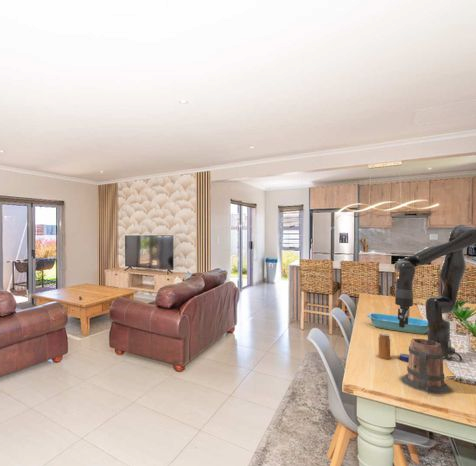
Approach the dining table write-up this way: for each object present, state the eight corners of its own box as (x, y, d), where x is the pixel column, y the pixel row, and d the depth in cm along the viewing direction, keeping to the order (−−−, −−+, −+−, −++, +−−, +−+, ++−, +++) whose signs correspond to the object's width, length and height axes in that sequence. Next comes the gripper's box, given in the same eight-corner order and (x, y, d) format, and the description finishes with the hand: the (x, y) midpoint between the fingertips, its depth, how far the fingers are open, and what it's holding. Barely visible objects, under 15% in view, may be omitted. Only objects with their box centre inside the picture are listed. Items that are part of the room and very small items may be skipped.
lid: (409, 362, 178) (409, 358, 178) (397, 358, 184) (397, 354, 184) (416, 361, 180) (416, 357, 180) (404, 357, 185) (404, 353, 185)
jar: (391, 357, 185) (391, 334, 185) (387, 360, 182) (388, 336, 182) (380, 354, 189) (380, 332, 189) (376, 356, 186) (376, 334, 186)
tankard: (404, 372, 166) (404, 333, 166) (451, 384, 154) (452, 341, 153) (396, 389, 150) (396, 345, 150) (448, 403, 138) (449, 355, 137)
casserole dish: (430, 328, 235) (430, 318, 235) (436, 337, 217) (436, 326, 217) (366, 320, 256) (366, 311, 256) (366, 327, 238) (366, 318, 238)
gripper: (398, 293, 190) (398, 321, 191) (392, 297, 181) (391, 326, 181) (415, 295, 184) (415, 324, 185) (410, 299, 175) (409, 330, 176)
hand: (403, 325), depth 183 cm, fingers open, 8 cm apart
